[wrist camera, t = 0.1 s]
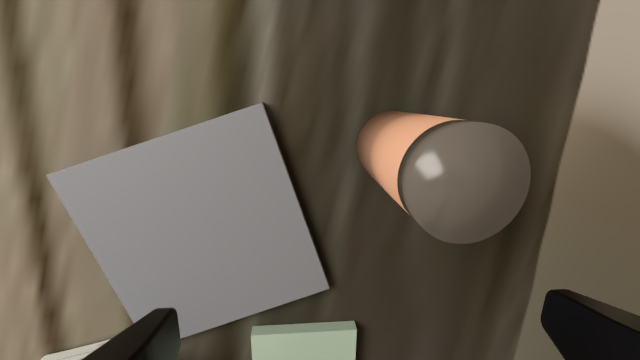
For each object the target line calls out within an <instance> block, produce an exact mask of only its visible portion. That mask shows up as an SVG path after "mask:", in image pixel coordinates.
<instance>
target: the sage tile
mask: <svg viewBox="0 0 640 360" xmlns="http://www.w3.org/2000/svg"><path fill="white" fill-rule="evenodd" d="M356 337H357V328H356V325H355V321H340V322H321V323H303V324H284V325H266V326H252V332H251V346H252V360H355V358H356Z"/></svg>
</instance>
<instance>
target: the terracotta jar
mask: <svg viewBox="0 0 640 360" xmlns="http://www.w3.org/2000/svg"><path fill="white" fill-rule="evenodd" d="M356 152H357V157H358V160H359V162H360V164H361V166H362V167H363V168H364V170H365V171H366V172H367V173H368V174H369V175H370V176H371V177H372V178H373V179H374V180H375V181H376V182H377V183H378V184H379V185H380V186H381V187H382V188H383V189H384V190H385V191H386V192H387V193H388V194H389V195H390V196H391V197H392V198H393V199H394V200H395V201H396V202H397V203H398V204H399V205H400V206H401V207H402V208H403V209H404V210H405V211H406V212H407V213H408V214H409V215H410V216H411V217H412V218H413V219H414V220H415V221H416V222H417V223H418V224H419V225H420V226H421V227H422V228H423V229H424V230H425V231H426V232H427V233H429V234H430V235H432V236H433V237H435V238H437V239H439V240H441V241H444V242H448V243H454V244H468V243H474V242H478V241H481V240H484V239H486V238H489V237H491V236H493V235H494V234H496V233H498V232H499V231H500V230H502V229H503V228H504V227H506V226H507V225H508V224H509V223H510V222H511V221H512V220H513V218H514V217H515V216H516V215H517V213H518V212H519V210H520V209H521V207H522V205H523V203H524V202H525V199H526V197H527V194H528V190H529V187H530V180H531V168H530V162H529V158H528V155H527V153H526V150H525V148H524V147H523V145H522V144H521V142H520V141H519V140H518V139H517V138H516V136H514V135H513V134H512V133H511V132H509V131H508V130H506V129H504V128H502V127H500V126H497V125H494V124H489V123H483V122H476V121H468V120H461V119H454V118H447V117H440V116H432V115H425V114H418V113H411V112H403V111H395V110H391V111H384V112H381V113H379V114H377V115H375V116H373V117H372V118H370V119H369V120H368V121H367V122H366V123H365V124H364V126H363V127H362V129H361V131H360V132H359V135H358V138H357V143H356Z"/></svg>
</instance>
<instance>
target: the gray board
mask: <svg viewBox="0 0 640 360" xmlns="http://www.w3.org/2000/svg"><path fill="white" fill-rule="evenodd" d="M46 176H47V178H48V180H49V181H50V183H51V185H52V186H53V188H54V190H55V191H56V193H57V195H58V196H59V198H60V200H61V201H62V203H63V205H64V206H65V208H66V210H67V212H68V213H69V215H70V217H71V218H72V220H73V222H74V223H75V225H76V227H77V228H78V230H79V232H80V233H81V235H82V237H83V238H84V240H85V242H86V244H87V245H88V247H89V249H90V250H91V252H92V254H93V255H94V257H95V259H96V260H97V262H98V264H99V265H100V267H101V269H102V270H103V272H104V274H105V275H106V277H107V279H108V281H109V282H110V284H111V286H112V287H113V289H114V291H115V292H116V294H117V296H118V297H119V299H120V301H121V302H122V304H123V306H124V307H125V309H126V311H127V312H128V314H129V316H130V318H131V319H132V321H133V323H135V322H137V321H138V320H139V319H141V318H142V317H144V316H145V315H147V314H148V313H150V312H151V311H153V310H154V309H156V308H169V307H173V308H175V309H176V311H177V315H178V323H179V330H180V339H181V338H184V337H187V336H190V335H193V334H196V333H199V332H202V331H205V330H208V329H211V328H214V327H217V326H220V325H223V324H226V323H229V322H232V321H235V320H238V319H241V318H244V317H247V316H250V315H253V314H256V313H259V312H262V311H265V310H267V309H270V308H273V307H276V306H279V305H282V304H285V303H288V302H291V301H294V300H297V299H300V298H303V297H306V296H309V295H312V294H315V293H318V292H321V291H324V290H327V289H329V284H328V280H327V278H326V275H325V272H324V269H323V266H322V264H321V261H320V258H319V255H318V253H317V250H316V247H315V244H314V242H313V239H312V236H311V233H310V231H309V228H308V225H307V222H306V220H305V217H304V214H303V211H302V209H301V206H300V203H299V200H298V198H297V195H296V192H295V189H294V187H293V184H292V181H291V178H290V175H289V173H288V170H287V167H286V164H285V162H284V159H283V156H282V153H281V151H280V148H279V145H278V142H277V140H276V137H275V134H274V131H273V129H272V126H271V123H270V120H269V118H268V115H267V112H266V109H265V107H264V104H263V102H262V103H259V104H256V105H253V106H250V107H247V108H244V109H241V110H238V111H235V112H232V113H229V114H226V115H223V116H220V117H217V118H215V119H212V120H209V121H206V122H203V123H200V124H197V125H194V126H191V127H188V128H185V129H182V130H179V131H176V132H173V133H170V134H167V135H164V136H161V137H158V138H155V139H152V140H149V141H146V142H143V143H140V144H137V145H134V146H131V147H128V148H125V149H122V150H119V151H116V152H113V153H110V154H107V155H104V156H101V157H98V158H95V159H92V160H89V161H86V162H83V163H80V164H77V165H74V166H71V167H68V168H65V169H62V170H59V171H56V172H53V173H50V174H47V175H46Z"/></svg>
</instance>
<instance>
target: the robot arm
mask: <svg viewBox="0 0 640 360" xmlns="http://www.w3.org/2000/svg"><path fill="white" fill-rule="evenodd" d="M541 323H542V326H543V328H544V330H545V331H546V333H547V334H548V336H549V337H550V339H551V340H552V341H553V343H554V344H555V346H556V347H557V349H558V350H559V352H560V353H561V355H562V356H563V358H564V359H565V360H640V316H638V315H636V314H633V313H630V312H627V311H625V310H622V309H619V308H617V307H613V306H611V305H608V304H606V303H603V302H600V301H598V300H595V299H592V298H589V297H587V296H584V295H581V294H578V293H576V292H573V291H570V290H567V289H557V290H550V291H548V292H547V294H546V297H545V301H544V305H543V309H542V314H541ZM179 348H180V330H179V323H178V315H177V311H176V309H175V308H173V307H169V308H156V309H154V310H153V311H151V312H150V313H148V314H147V315H145V316H144V317H142V318H141V319H139V320H138V321H137V322H135V323H134V324H132V325H131V326H129V327H128V328H126V329H125V330H123V331H122V332H121V333H119V334H118V335H116V336H115V337H113V338H112V339H110V340H109V341H108V342H106V343H105V344H103V345H102V346H100V347H99V348H97V349H96V350H94V351H93V352H92V353H90V354H89V355H87V356H86V357H84V358H83V359H81V360H176V359H177V355H178V352H179Z"/></svg>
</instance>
